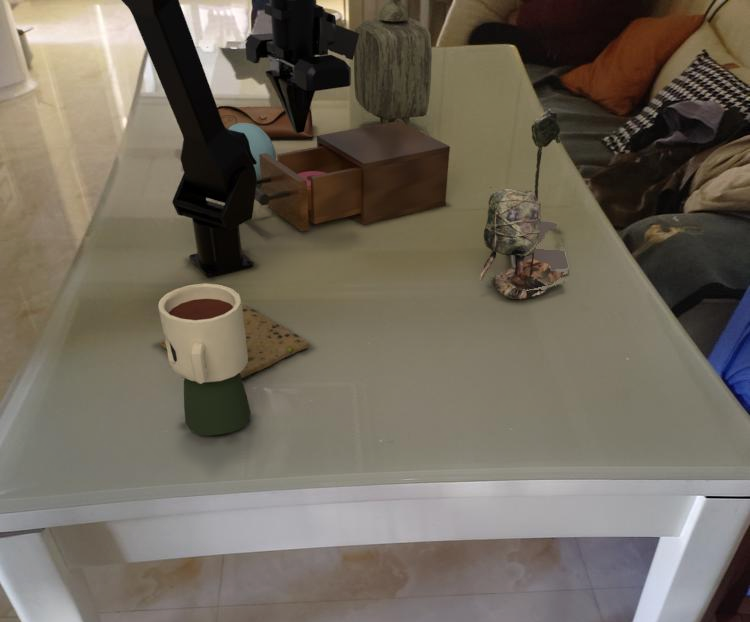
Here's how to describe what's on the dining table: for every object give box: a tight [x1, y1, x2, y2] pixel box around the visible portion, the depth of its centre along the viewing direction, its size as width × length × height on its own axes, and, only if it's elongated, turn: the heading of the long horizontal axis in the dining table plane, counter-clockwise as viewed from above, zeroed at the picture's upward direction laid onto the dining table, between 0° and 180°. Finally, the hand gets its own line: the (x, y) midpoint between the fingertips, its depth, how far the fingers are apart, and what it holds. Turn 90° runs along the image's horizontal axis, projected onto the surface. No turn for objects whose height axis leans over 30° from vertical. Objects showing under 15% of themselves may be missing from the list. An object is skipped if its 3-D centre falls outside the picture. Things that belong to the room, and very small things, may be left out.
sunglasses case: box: [217, 105, 314, 141], centre depth 137 cm, size 18×7×7 cm
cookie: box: [159, 305, 309, 379], centre depth 83 cm, size 12×12×1 cm
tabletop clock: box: [353, 0, 433, 128], centre depth 130 cm, size 14×9×25 cm, turn 22°
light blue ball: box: [229, 123, 277, 187], centre depth 117 cm, size 7×9×12 cm
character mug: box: [158, 282, 252, 436], centre depth 69 cm, size 11×7×13 cm, turn 3°
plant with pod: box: [478, 108, 564, 300], centre depth 88 cm, size 8×11×20 cm
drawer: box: [254, 146, 361, 232], centre depth 108 cm, size 18×12×7 cm
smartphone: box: [509, 220, 570, 276], centre depth 103 cm, size 7×1×15 cm
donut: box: [298, 171, 326, 210], centre depth 108 cm, size 6×6×3 cm
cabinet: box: [316, 120, 451, 226], centre depth 113 cm, size 15×14×9 cm
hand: (299, 131), depth 102 cm, fingers closed
